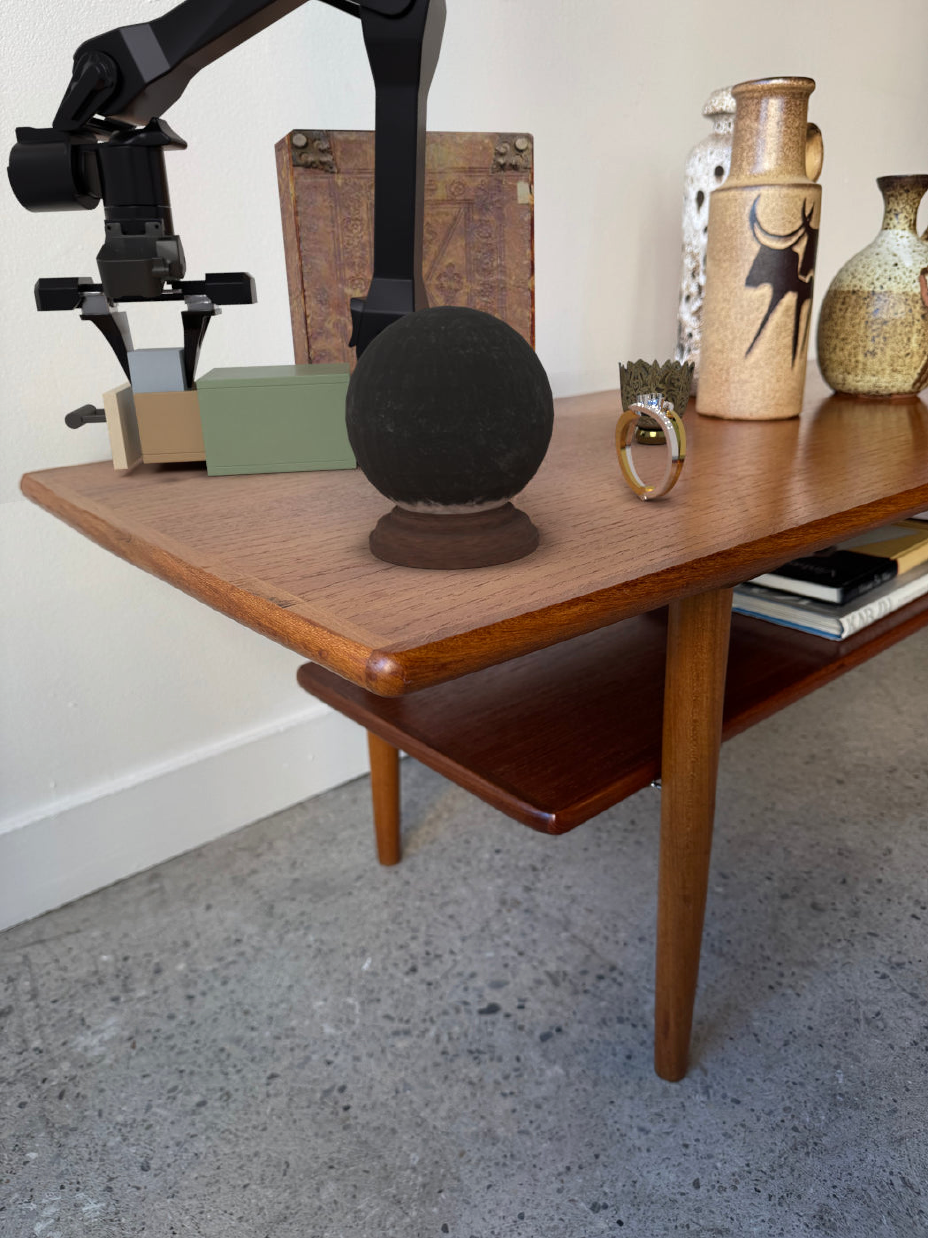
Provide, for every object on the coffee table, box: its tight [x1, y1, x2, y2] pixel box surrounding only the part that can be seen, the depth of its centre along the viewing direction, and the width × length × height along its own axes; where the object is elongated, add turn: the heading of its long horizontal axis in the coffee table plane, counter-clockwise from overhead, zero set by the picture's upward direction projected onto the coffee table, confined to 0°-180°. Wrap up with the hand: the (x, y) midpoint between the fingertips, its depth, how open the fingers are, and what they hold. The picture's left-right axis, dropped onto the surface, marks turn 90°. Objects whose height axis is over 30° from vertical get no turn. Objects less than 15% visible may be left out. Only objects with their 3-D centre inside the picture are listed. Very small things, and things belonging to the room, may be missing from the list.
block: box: [127, 346, 193, 394], centre depth 86 cm, size 5×5×5 cm
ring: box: [614, 393, 687, 501], centre depth 70 cm, size 7×3×8 cm, turn 23°
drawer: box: [64, 380, 206, 471], centre depth 88 cm, size 17×10×7 cm, turn 97°
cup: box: [618, 358, 696, 445], centre depth 93 cm, size 8×7×8 cm
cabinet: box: [195, 363, 358, 477], centre depth 89 cm, size 14×12×9 cm
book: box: [273, 128, 536, 375], centre depth 100 cm, size 25×9×30 cm, turn 110°
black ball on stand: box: [345, 306, 555, 570], centre depth 59 cm, size 13×13×15 cm
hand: (163, 388), depth 87 cm, fingers closed on block, 4 cm apart
